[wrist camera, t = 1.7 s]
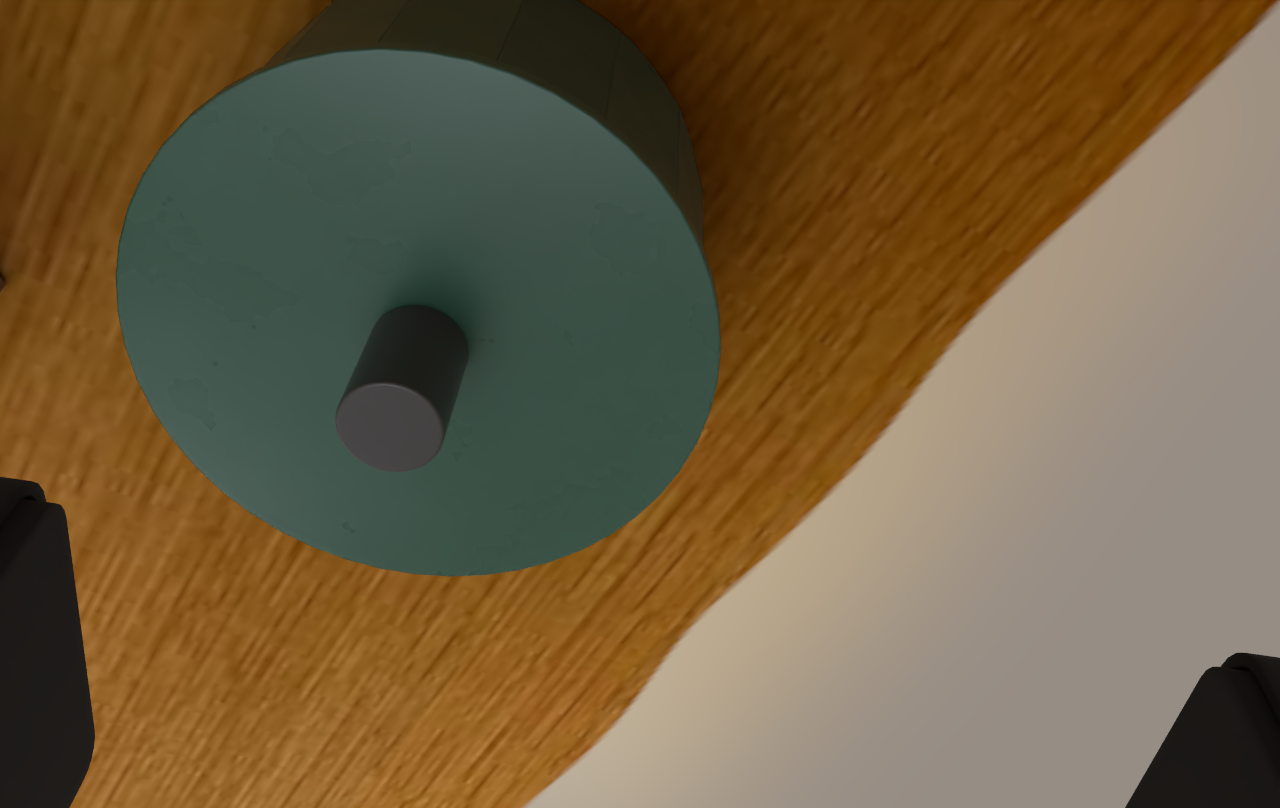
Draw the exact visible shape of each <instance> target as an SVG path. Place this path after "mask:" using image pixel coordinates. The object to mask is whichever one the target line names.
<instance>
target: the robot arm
mask: <svg viewBox="0 0 1280 808" xmlns="http://www.w3.org/2000/svg"><path fill="white" fill-rule="evenodd" d="M94 740H95V730H94V722H93V715H92V707H91V700H90V692H89V685H88V677H87V669H86V662H85V654H84V647H83V639H82V632H81V624H80V617H79V609H78V602H77V594H76V587H75V579H74V572H73V564H72V557H71V549H70V542H69V534H68V527H67V519H66V515H65V511H64V509H63V508H62V506H61V505H59V504H56V503H49V502H46V499H45V495H44V491H43V489H42V488H41V487H40V485H39V484H38V483H35V482H32V481H25V480H18V479H11V478H4V477H0V808H69V807H70V805H71V803H72V802H73V800H74V798H75V796H76V794H77V792H78V790H79V788H80V786H81V784H82V782H83V780H84V778H85V775H86V773H87V771H88V768H89V765H90V762H91V758H92V753H93V749H94ZM1125 808H1280V658H1277V657H1270V656H1263V655H1256V654H1249V653H1236V654H1234V655H1232V656H1230V657H1228V658H1227V660H1226V661H1225V662H1224V663H1223V665H1222V666H1221V667H1212V668H1209V669H1208V670H1206V671H1205V673H1204V674H1203V675H1202V676H1201V678H1200V680H1199V681H1198V683H1197V685H1196V686H1195V688H1194V690H1193V692H1192V693H1191V695H1190V697H1189V699H1188V700H1187V702H1186V704H1185V705H1184V707H1183V709H1182V711H1181V712H1180V714H1179V716H1178V718H1177V719H1176V721H1175V723H1174V725H1173V726H1172V728H1171V730H1170V731H1169V733H1168V735H1167V737H1166V738H1165V740H1164V742H1163V743H1162V745H1161V747H1160V749H1159V750H1158V752H1157V754H1156V756H1155V757H1154V759H1153V761H1152V763H1151V764H1150V766H1149V768H1148V769H1147V771H1146V773H1145V775H1144V776H1143V778H1142V780H1141V781H1140V783H1139V785H1138V787H1137V788H1136V790H1135V792H1134V794H1133V795H1132V797H1131V799H1130V800H1129V802H1128V804H1127V806H1126V807H1125Z"/></svg>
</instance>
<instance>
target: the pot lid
mask: <svg viewBox="0 0 1280 808" xmlns="http://www.w3.org/2000/svg"><path fill="white" fill-rule="evenodd" d="M116 288H117V305H118V315H119V319H120V324H121V329H122V334H123V339H124V343H125V347H126V350H127V353H128V356H129V358H130V361H131V364H132V367H133V370H134V372H135V375H136V378H137V380H138V382H139V384H140V386H141V388H142V390H143V392H144V394H145V396H146V398H147V400H148V402H149V404H150V406H151V408H152V410H153V411H154V413H155V414H156V416H157V417H158V419H159V420H160V422H161V423H162V425H163V426H164V428H165V429H166V431H167V432H168V434H169V435H170V436H171V438H172V439H173V441H174V442H175V443H176V444H177V445H178V447H179V448H180V449H181V450H182V451H183V452H184V454H185V455H186V456H187V457H188V458H189V459H190V460H191V462H192V463H193V464H194V465H195V466H196V467H197V468H198V469H199V470H200V471H201V472H202V473H203V474H204V475H205V476H206V477H207V478H208V479H209V480H210V481H212V482H213V483H214V484H215V485H216V486H217V487H218V488H219V489H220V490H221V491H222V492H224V493H225V494H226V495H228V496H229V497H230V498H231V499H233V500H234V501H235V502H237V503H238V504H239V505H241V506H242V507H243V508H245V509H246V510H247V511H249V512H250V513H251V514H253V515H255V516H256V517H258V518H260V519H261V520H263V521H265V522H266V523H268V524H269V525H271V526H273V527H274V528H276V529H278V530H279V531H281V532H283V533H285V534H287V535H289V536H291V537H293V538H295V539H297V540H299V541H302V542H304V543H306V544H308V545H310V546H312V547H314V548H317V549H320V550H322V551H325V552H328V553H330V554H333V555H336V556H338V557H341V558H344V559H347V560H350V561H354V562H358V563H362V564H366V565H369V566H373V567H377V568H381V569H387V570H393V571H399V572H405V573H412V574H421V575H437V576H471V575H488V574H495V573H502V572H509V571H516V570H520V569H524V568H528V567H532V566H536V565H540V564H544V563H548V562H551V561H554V560H556V559H559V558H562V557H564V556H567V555H570V554H572V553H575V552H578V551H580V550H582V549H584V548H586V547H588V546H590V545H592V544H594V543H596V542H598V541H599V540H601V539H603V538H605V537H607V536H609V535H610V534H612V533H613V532H615V531H616V530H618V529H619V528H621V527H622V526H623V525H625V524H626V523H628V522H629V521H631V520H632V519H634V518H635V517H636V516H637V515H638V514H640V513H641V512H642V511H643V510H644V509H645V508H646V507H647V506H648V505H649V504H651V503H652V502H653V501H654V500H655V499H656V498H657V497H658V496H659V495H660V494H661V493H662V492H663V490H664V489H665V488H666V487H667V486H668V485H669V483H670V482H671V481H672V480H673V479H674V477H675V476H676V475H677V474H678V473H679V471H680V470H681V468H682V467H683V465H684V463H685V462H686V460H687V459H688V457H689V455H690V454H691V452H692V450H693V449H694V447H695V446H696V444H697V442H698V439H699V437H700V435H701V432H702V430H703V428H704V425H705V423H706V421H707V418H708V416H709V413H710V410H711V406H712V402H713V398H714V394H715V390H716V386H717V382H718V373H719V363H720V353H721V338H720V319H719V304H718V300H717V295H716V290H715V285H714V280H713V275H712V270H711V268H710V265H709V262H708V259H707V257H706V254H705V251H704V248H703V245H702V243H701V240H700V237H699V235H698V233H697V231H696V229H695V227H694V225H693V223H692V222H691V220H690V218H689V216H688V214H687V212H686V210H685V208H684V206H683V205H682V203H681V201H680V199H679V198H678V197H677V195H676V194H675V192H674V191H673V190H672V188H671V187H670V186H669V184H668V183H667V181H666V180H665V179H664V177H663V176H662V174H661V173H660V172H659V170H658V169H657V168H656V167H655V165H654V164H653V163H652V162H651V161H650V160H649V159H648V158H647V157H646V156H645V155H644V154H643V153H642V152H641V151H640V149H639V148H638V147H637V146H636V145H635V144H634V143H633V142H632V141H631V140H630V139H629V138H628V137H627V136H626V135H625V134H623V133H622V132H621V131H620V130H619V129H617V128H616V127H615V126H614V125H612V124H611V123H610V122H609V121H608V120H606V119H605V118H604V117H603V116H602V115H600V114H599V113H598V112H597V111H595V110H594V109H592V108H591V107H589V106H588V105H586V104H585V103H583V102H581V101H580V100H578V99H577V98H575V97H573V96H572V95H570V94H569V93H567V92H566V91H564V90H562V89H561V88H559V87H558V86H556V85H553V84H551V83H549V82H547V81H545V80H543V79H541V78H539V77H536V76H534V75H532V74H530V73H528V72H526V71H524V70H521V69H519V68H517V67H514V66H511V65H508V64H505V63H502V62H499V61H496V60H493V59H490V58H487V57H484V56H481V55H478V54H474V53H470V52H465V51H459V50H454V49H449V48H444V47H439V46H433V45H426V44H410V43H393V42H377V43H363V44H349V45H339V46H334V47H329V48H324V49H320V50H315V51H310V52H306V53H301V54H297V55H294V56H292V57H289V58H286V59H284V60H281V61H278V62H275V63H273V64H270V65H267V66H265V67H262V68H259V69H258V70H256V71H254V72H252V73H250V74H248V75H247V76H245V77H243V78H241V79H239V80H237V81H236V82H234V83H232V84H230V85H228V86H227V87H225V88H223V89H222V90H221V91H220V92H218V93H217V94H216V95H214V96H213V97H212V98H210V99H209V100H208V101H207V102H205V103H204V104H203V105H201V106H200V107H199V108H198V109H196V110H195V111H194V112H193V113H192V114H191V115H190V116H189V117H188V118H187V119H186V120H185V121H184V122H183V123H182V124H181V125H180V126H179V128H178V129H177V130H176V131H175V132H174V133H173V134H172V135H171V136H170V137H169V138H168V139H167V140H166V141H165V142H164V144H163V145H162V146H161V148H160V149H159V151H158V152H157V154H156V155H155V157H154V158H153V160H152V161H151V163H150V164H149V166H148V167H147V169H146V170H145V172H144V173H143V175H142V177H141V179H140V182H139V184H138V186H137V188H136V191H135V193H134V195H133V197H132V200H131V202H130V204H129V206H128V209H127V213H126V217H125V221H124V225H123V228H122V232H121V236H120V240H119V248H118V258H117V269H116Z"/></svg>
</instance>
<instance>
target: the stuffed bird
mask: <svg viewBox="0 0 1280 808" xmlns="http://www.w3.org/2000/svg"><path fill="white" fill-rule="evenodd" d="M4 285H5V284H4V280H3V279H2V278H1V276H0V292H1V290H2V289H3V288H4Z"/></svg>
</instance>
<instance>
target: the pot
mask: <svg viewBox="0 0 1280 808" xmlns="http://www.w3.org/2000/svg"><path fill="white" fill-rule="evenodd" d="M377 42H393V43H410V44H426V45H433V46H439V47H444V48H449V49H454V50H459V51H465V52H470V53H474V54H478V55H481V56H484V57H487V58H490V59H493V60H496V61H499V62H502V63H505V64H508V65H511V66H514V67H517V68H519V69H521V70H524V71H526V72H528V73H530V74H532V75H534V76H536V77H539V78H541V79H543V80H545V81H547V82H549V83H551V84H553V85H556V86H558V87H559V88H561V89H562V90H564V91H566V92H567V93H569V94H570V95H572V96H573V97H575V98H577V99H578V100H580V101H581V102H583V103H585V104H586V105H588V106H589V107H591V108H592V109H594V110H595V111H597V112H598V113H599V114H600V115H602V116H603V117H604V118H605V119H606V120H608V121H609V122H610V123H611V124H612V125H614V126H615V127H616V128H617V129H619V130H620V131H621V132H622V133H623V134H625V135H626V136H627V137H628V138H629V139H630V140H631V141H632V142H633V143H634V144H635V145H636V146H637V147H638V148H639V149H640V151H641V152H642V153H643V154H644V155H645V156H646V157H647V158H648V159H649V160H650V161H651V162H652V163H653V164H654V165H655V167H656V168H657V169H658V170H659V172H660V173H661V174H662V176H663V177H664V179H665V180H666V181H667V183H668V184H669V186H670V187H671V188H672V190H673V191H674V192H675V194H676V195H677V197H678V198H679V199H680V201H681V203H682V205H683V206H684V208H685V210H686V212H687V214H688V216H689V218H690V220H691V222H692V223H693V225H694V227H695V229H696V231H697V233H698V235H699V237H700V240H701V243H702V245H703V248H704V221H703V189H702V185H701V181H700V178H699V174H698V170H697V166H696V161H695V156H694V151H693V146H692V142H691V139H690V136H689V134H688V131H687V128H686V125H685V122H684V119H683V116H682V112H681V109H680V107H679V106H678V103H677V102H676V101H675V100H674V98H673V96H672V94H671V93H670V91H669V89H668V87H667V86H666V84H665V83H664V81H663V80H662V78H661V77H660V76H659V74H658V73H657V71H656V70H655V68H654V67H653V65H652V64H651V63H650V62H649V60H648V59H647V58H646V57H645V56H644V55H643V54H642V53H641V52H640V50H639V49H638V48H637V47H636V46H635V45H634V44H633V43H632V42H631V40H630V39H628V38H627V37H626V36H625V35H624V34H623V33H621V32H620V31H619V30H618V29H617V28H616V27H614V26H613V25H612V24H611V23H610V22H609V21H607V20H606V19H605V18H603V17H602V16H600V15H599V14H597V13H596V12H594V11H593V10H591V9H590V8H588V7H587V6H585V5H584V4H582V3H581V2H579V1H577V0H335V1H334V2H333V3H332V4H330V5H329V6H328V7H327V8H326V9H325V10H324V11H323V12H322V13H321V14H319V15H318V16H317V17H316V18H314V19H313V20H312V21H311V22H310V23H309V24H308V25H307V26H306V27H305V28H304V29H303V30H302V31H301V32H299V33H298V34H297V35H296V36H295V37H294V38H293V39H292V40H291V41H289V42H288V43H287V44H286V45H285V46H284V47H283V48H282V49H281V50H280V51H278V52H277V53H276V54H275V55H274V56H273V57H272V58H271V60H270V61H269V62H268V63H267V64H266V65H265V66H267V65H270V64H273V63H275V62H278V61H281V60H284V59H286V58H289V57H292V56H294V55H297V54H301V53H306V52H310V51H315V50H320V49H324V48H329V47H334V46H339V45H349V44H363V43H377ZM265 66H264V67H265Z"/></svg>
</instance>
